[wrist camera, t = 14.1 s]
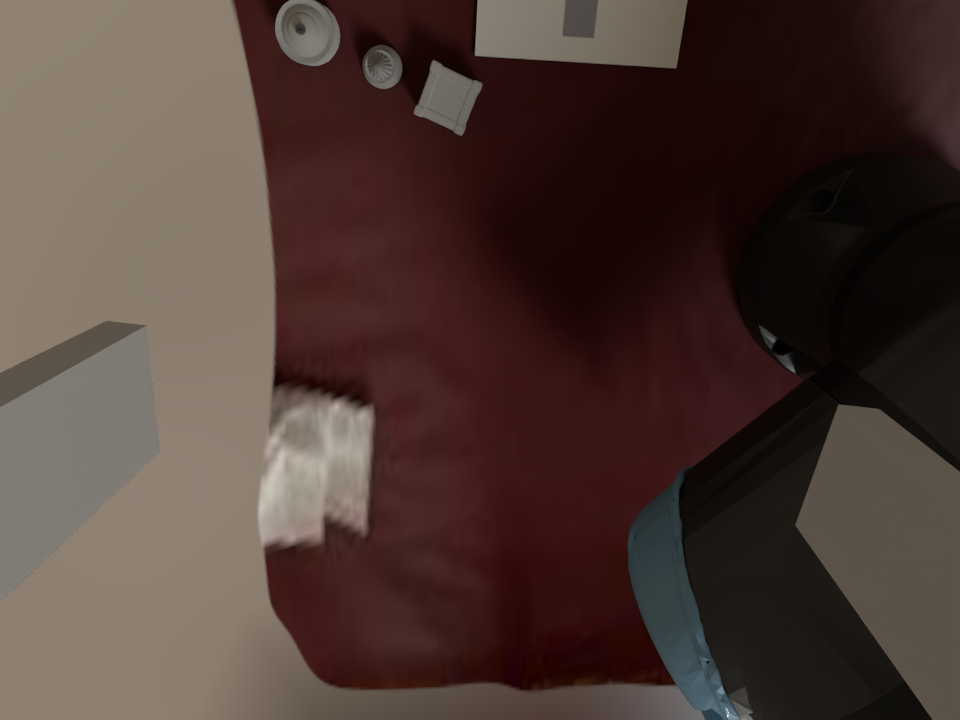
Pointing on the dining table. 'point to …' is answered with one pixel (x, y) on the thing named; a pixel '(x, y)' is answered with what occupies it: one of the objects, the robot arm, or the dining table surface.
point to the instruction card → (582, 31)
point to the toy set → (374, 63)
